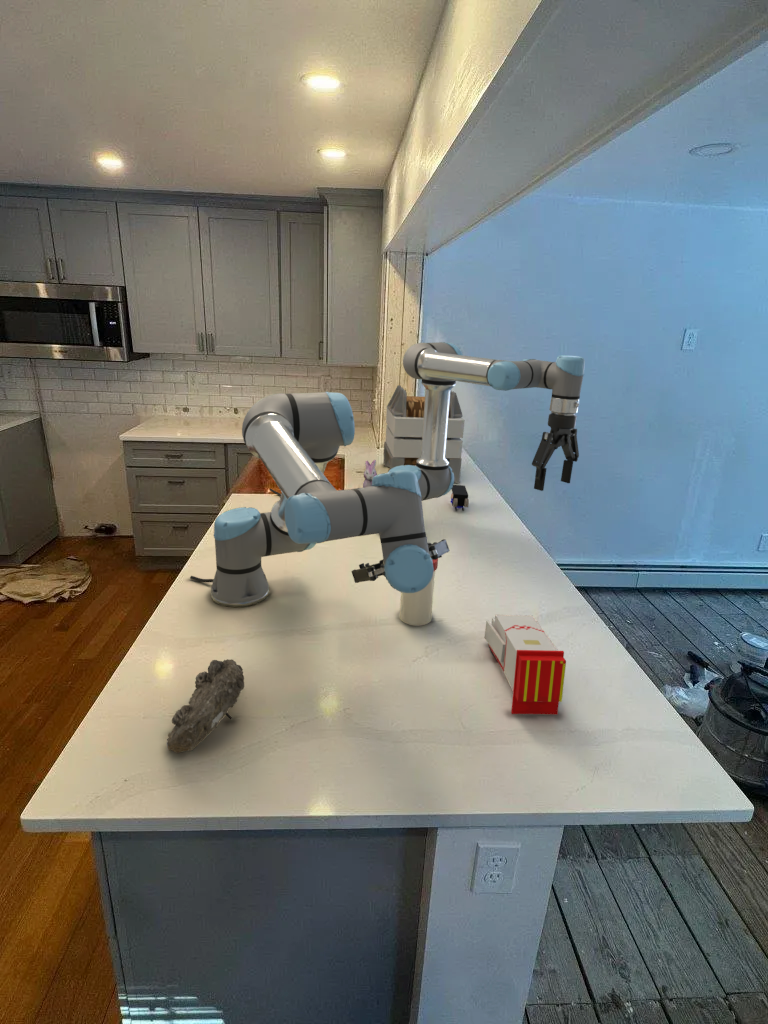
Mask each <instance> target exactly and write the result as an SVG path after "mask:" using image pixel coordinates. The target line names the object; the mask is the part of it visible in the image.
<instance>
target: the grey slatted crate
mask: <svg viewBox="0 0 768 1024" xmlns="http://www.w3.org/2000/svg"><path fill="white" fill-rule="evenodd" d="M407 394H408V393H407V390H406V389H404V388H403V387H402V385H399V384H398V385H397V386H396V388H395V390H394V392H393V394H392V395H391V398H390V400H389V402H388V404H387V405H386V413H385V414H386V415H385V423H386V428H385V438H384V442H383V466H384V467H388V468H389V470H390V469H392V468H394V467H396V466H401V465H404V466H405V465H413V466H416V461H417V459H418V458H420V457H421V449H422V434H423V419H424V404H425V396H415V395H414V396H413V395H412V396H411V395H407ZM464 429H465V419H464V418H463V411H462V408H461V405H460V402H459V398H458V395H457V392H455V391H453V390H451V392H450V404H449V416H448V428H447V441H446V453H445V458H446V459H447V461H448V462H449V466H450V467H451V469H452V473H454V484H455V483H456V484H459V483H461V472H462V461H463V460H462V453H463V442H464V441H463V440H462V439H463V438H464V431H465V430H464Z"/></svg>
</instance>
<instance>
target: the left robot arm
mask: <svg viewBox="0 0 768 1024" xmlns="http://www.w3.org/2000/svg"><path fill="white" fill-rule="evenodd" d="M354 418H355V417H354V412H353V409H352V406H351V403H350V402H349V399H348V398H347V396H345V394H343V393H341V392H333V391H332V392H331V391H325V392H323V391H321V392H320V391H319V392H294V393H293V392H292V393H290V392H289V393H283V392H282V393H281V392H280V393H273V394H270V395H266V396H265V397H262V398H261V399H259V400H258V401H256V402H255V403H254V404H253V405H252V406H251V407H250V408H249V409H248V411H247V412H246V413H245V416H244V418H243V421H242V425H241V426H242V427H241V435H242V439H243V443H244V444H245V447H247V450H248V451H249V452H250V453H251V455H253V456H254V457H255V458H257V459H259V460H260V461H262V463H263V465H264V466H265V468H266V469H267V471H268V473H269V474H270V476H271V478H272V479H273V481H274V483H275V484H276V485H277V487H278V489H279V490H280V492H281V493H280V494H281V496H280V498H279V499H278V500H277V501H275V502H274V504H273V505H272V508H271V511H267V512H260V511H259V510H258V508H255V507H246V506H242V507H236V508H232V509H229V510H226V511H224V512H222V513H220V514H219V515H218V516H217V517H216V519H215V520H214V525H213V526H214V527H213V538H214V547H215V549H214V550H215V561H216V562H215V564H216V570H215V573H214V577H213V578H200V577H197V576H194V575H190V577H189V579H190V580H192V581H196V582H198V583H212V584H211V587H210V598H211V599H212V601H213V602H214V603H216V604H217V605H220V606H223V607H228V608H244V607H249V606H254V605H256V604H259V603H261V602H262V601H264V600H265V599H267V597H269V594H270V585H269V582H268V579H267V577H266V573H265V572H264V569H263V566H262V558H264V557H271V556H278V555H284V554H291V553H302V552H305V551H308V550H311V549H313V548H314V547H315V546H316V544H322V543H326V542H331V541H337V540H343V539H350V538H356V537H362V536H363V537H364V536H369V535H379V540H380V541H379V542H380V544H381V545H380V546H381V553H382V559H379V562H376V563H373V564H370V563H369V562H367V563H364V562H363V563H359V564H358V567H359V568H358V569H352V570H351V575H352V578H353V581H354V583H355V584H358V583H363V582H374V581H376V580H377V579H379V577H380V576H383V577H385V580H386V581H387V583H388V584H389V585H390V587H391V588H392V589H394V590H396V591H398V592H400V593H401V592H403V593H415V592H418V591H421V590H422V589H424V588H425V587H426V586H427V585H428V584H429V583H430V581H431V579H432V576H433V571H434V567H433V561H432V559H433V560H436V559H437V558H438V559H440V558H443V556H444V555H445V554H447V553H449V552H450V548H449V545H448V542H447V539H444V538H443V539H441V540H440V541H435V542H432V543H431V542H428V536H427V532H426V527H425V519H424V511H423V510H424V509H423V501H422V500H421V499H422V497H421V492H420V488H419V483H418V480H417V476H416V474H415V473H414V472H412V471H395V472H389V471H388V472H384V473H383V472H382V473H379V474H377V475H376V476H374V477H373V479H372V486H371V487H364V488H363V487H357V488H349V489H340V490H338V489H336V488H335V486H333V484H332V483H331V482H330V481H329V479H328V478H327V476H326V475H325V471H326V468H327V464H328V463H329V462H331V461H332V460H334V458H336V456H337V455H338V452H339V449H340V447H347V446H351V444H352V443H354V439H355V435H356V434H355V433H356V432H355V431H356V429H355V427H356V425H355V419H354Z"/></svg>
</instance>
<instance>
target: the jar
mask: <svg viewBox="0 0 768 1024" xmlns="http://www.w3.org/2000/svg"><path fill="white" fill-rule="evenodd" d="M435 578H436V570H435V571H434V572H433V576H432V579H431V581H430V583H429V584H428V585H427V586H426V587H425V588H424V589H422V590H421V591H418V592H415V593H403V592H400V598H399V599H400V602H399V619H400V621H401V622H403V623H404V624H405V625H410V626H414V627H418V626H419V627H420V626H425V625H427V624H429V623H430V622H431V621H432V617H433V603H434V592H435V591H434V590H435V581H436V580H435Z"/></svg>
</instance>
